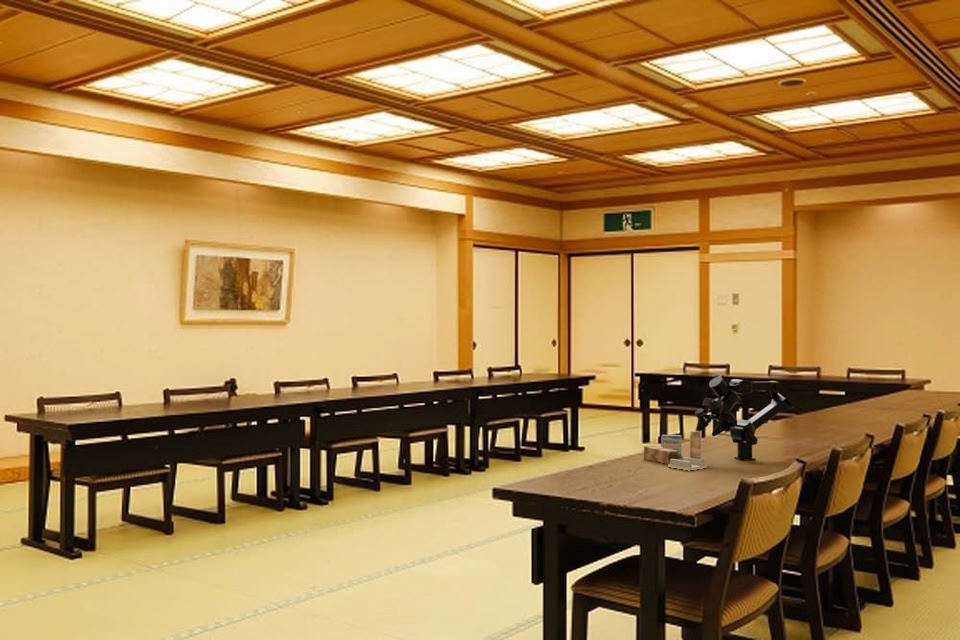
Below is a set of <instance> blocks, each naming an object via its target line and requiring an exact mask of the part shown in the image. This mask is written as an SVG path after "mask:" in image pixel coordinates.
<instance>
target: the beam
mask: <svg viewBox="0 0 960 640" xmlns="http://www.w3.org/2000/svg"><path fill="white" fill-rule="evenodd" d="M679 458H680V457H679V454H678V451H676V450H672V449H667V448H662V447H661V446H657V445H645V446H644V445H643V459H644V460H646V459H647V461H650V460H652V461H651V462H654V461H657V462H656V463H658V462H661V463H660V464H662V463H665V464H664V465H667V464H670V459H677V460H680V459H679Z"/></svg>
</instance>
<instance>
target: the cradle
mask: <svg viewBox="0 0 960 640" xmlns="http://www.w3.org/2000/svg"><path fill="white" fill-rule="evenodd" d="M668 467H671V468H670V469H673V468H677V469H676V470H679V469H683V470H682V471H685V470H688V471H687V472H691V471H690V470H694V471H698V470H697V469H700V470H704V469H703V468H707V465H706V464H705V459H702V458H701V459H695V458H690V457H688V456H684V457H683V456H682V459H679V460H677V459H670V464H668V465H667V468H668Z"/></svg>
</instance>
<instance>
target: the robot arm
mask: <svg viewBox="0 0 960 640" xmlns="http://www.w3.org/2000/svg"><path fill="white" fill-rule="evenodd" d="M708 385H709V388H711V390H712V391H713V392H714V393H715V395H716V396H717V397H716V398H710V397H709V398H708V397H705V398H703V402H702V406H703V407H705V408H707V410H706V409H696V411H695V412H694V415H695V416H696V418H697V424H696V428H695V431H701V432H702V431H703V430H704V429H705V428H706V427H708V426H709V425H710V423H711V422H712V421H717V422H718V423H717V424H716V426H715V427H714V429H713V431H712V433H711V436H712V437H715V436H717V435H720V434H721V433H723V432H726V431H728V430H730V434H729V435H730V437H731V439H732V443H734V444H736V447H737V449H736V450H737V451H736V452H737V455H736V456H734V457H733V459H737V460H739V461H756V460H757V458H755V457H753V446H755V445H757V444H758V438H757V437H756V435H755V434H756V431H757V429H759V428H761V426H764V424H766V423H767V422H769V421H770V420H771V419H772V418H774V417H776V415H778V414H779V413H782V412H785V411H789V410H791V409H793V408H795V406H796V405H797V399H796V396H795V394H793V393H792V392H791V391H790V390H789V389H788V388H786V387H785V386H784V385H783V384H782V383H781V382H780V381H777V380H770V381H751V380H746V379H737V378H733V379H731V380H730V382H729V381H728V380H727V379H726V377H725V376H724V375H723V374H718V375H717V376H716V377H714V378H712V379H711V380H710V381H709V384H708ZM753 392H769V394H770V397H771V401H770V403H769V404H768V405H767V406H766V407H764V408H763V409H761V410H760V411H759V412H758V413H757V412H756V414H754V415H753V416H752V417H750V418H749V419H747V420H746V419H738V420H737V419H736V417H735V416H734V414H732V413H733V411H732V409H733V408H734V407H735V405H736V404H740V405H741V404H743V402H742V401H743V400H742V397H741V396H739V395H747V394H751V393H753ZM719 397H721V398H719ZM708 411H709V412H708Z"/></svg>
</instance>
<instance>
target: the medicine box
mask: <svg viewBox="0 0 960 640" xmlns="http://www.w3.org/2000/svg"><path fill="white" fill-rule="evenodd" d="M682 438H683V435H678V434H677V435H676V434H662V435H661V441H660V442H661V446H660V447H662V448H667V449H672V450H676V451H678V454H679V458H681V457H683V453H682V452H683V451H682V450H683V448H682V447H683V446H682V443H683V439H682Z"/></svg>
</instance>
